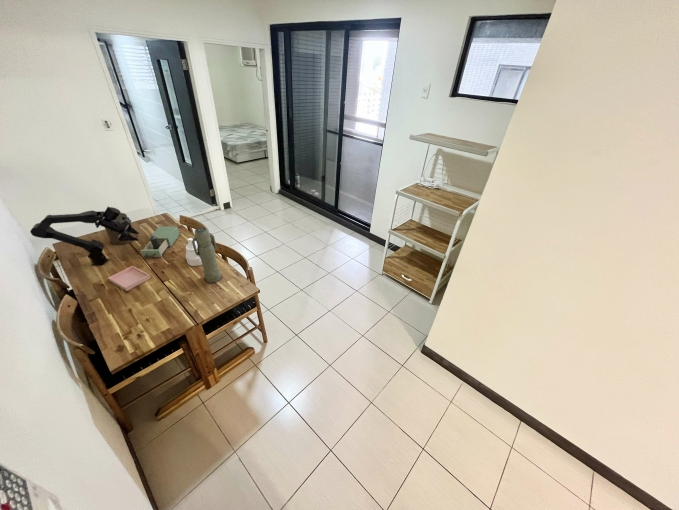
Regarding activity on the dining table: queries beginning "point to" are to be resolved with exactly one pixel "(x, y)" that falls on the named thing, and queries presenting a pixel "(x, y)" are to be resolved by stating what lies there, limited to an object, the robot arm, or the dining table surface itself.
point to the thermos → (207, 254)
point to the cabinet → (167, 233)
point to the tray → (129, 278)
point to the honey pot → (192, 254)
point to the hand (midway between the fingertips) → (138, 236)
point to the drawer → (151, 253)
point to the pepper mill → (154, 242)
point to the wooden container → (114, 235)
